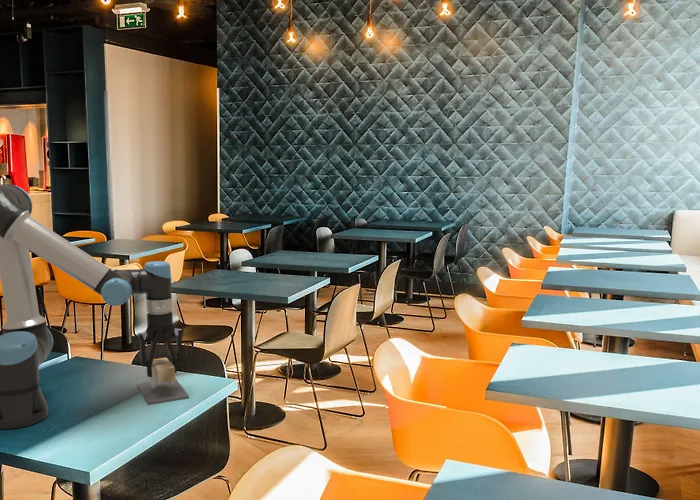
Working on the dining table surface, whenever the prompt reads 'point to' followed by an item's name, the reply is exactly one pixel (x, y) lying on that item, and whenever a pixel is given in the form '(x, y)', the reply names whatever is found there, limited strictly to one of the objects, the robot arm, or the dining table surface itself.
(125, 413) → the dining table surface
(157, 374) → the maple block
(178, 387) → the rubber mat
